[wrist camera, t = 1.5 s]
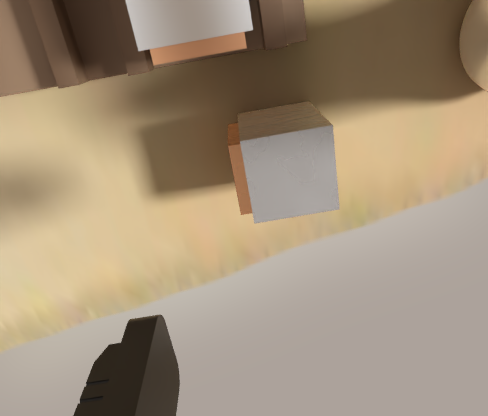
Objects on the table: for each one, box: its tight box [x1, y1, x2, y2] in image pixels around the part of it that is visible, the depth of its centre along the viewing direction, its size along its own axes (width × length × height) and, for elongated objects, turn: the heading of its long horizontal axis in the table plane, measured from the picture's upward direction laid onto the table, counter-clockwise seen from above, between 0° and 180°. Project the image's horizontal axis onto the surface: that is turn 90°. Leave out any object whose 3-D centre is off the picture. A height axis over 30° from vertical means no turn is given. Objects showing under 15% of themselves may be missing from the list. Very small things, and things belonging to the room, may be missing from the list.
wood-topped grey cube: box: [228, 101, 339, 223], centre depth 22 cm, size 4×5×6 cm
